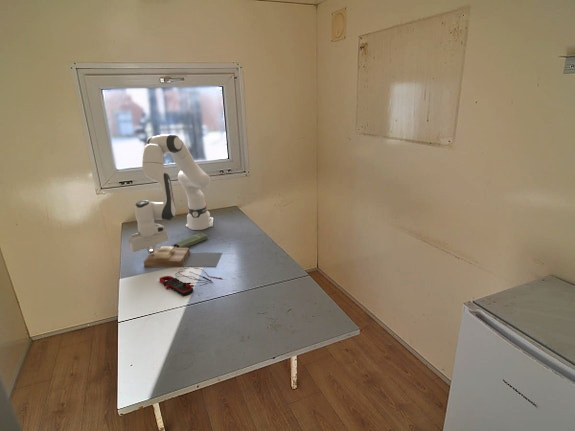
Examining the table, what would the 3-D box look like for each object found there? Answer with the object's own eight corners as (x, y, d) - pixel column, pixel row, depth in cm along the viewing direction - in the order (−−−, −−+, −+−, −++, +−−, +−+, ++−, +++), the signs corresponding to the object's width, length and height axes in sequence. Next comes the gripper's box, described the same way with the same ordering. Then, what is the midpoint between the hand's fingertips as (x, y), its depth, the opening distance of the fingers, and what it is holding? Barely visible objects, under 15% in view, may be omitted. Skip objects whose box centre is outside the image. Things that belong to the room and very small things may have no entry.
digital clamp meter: (184, 294, 153) (154, 275, 168) (185, 302, 155) (155, 283, 170) (224, 272, 170) (193, 257, 185) (225, 280, 172) (194, 265, 187)
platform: (155, 253, 199) (154, 247, 198) (189, 253, 199) (189, 247, 197) (144, 267, 184) (143, 261, 183) (181, 267, 184) (180, 261, 183)
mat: (190, 253, 199) (190, 252, 199) (221, 253, 198) (221, 252, 198) (182, 267, 184) (182, 266, 184) (215, 267, 183) (215, 266, 183)
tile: (162, 250, 195) (161, 246, 194) (174, 250, 195) (174, 246, 194) (155, 258, 186) (155, 254, 185) (168, 258, 185) (167, 254, 185)
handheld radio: (201, 236, 220) (167, 250, 202) (200, 231, 219) (166, 245, 201) (207, 239, 216) (173, 253, 198) (207, 234, 215) (173, 248, 197)
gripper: (130, 237, 176) (135, 261, 181) (167, 226, 190) (170, 248, 195) (125, 234, 180) (130, 257, 185) (162, 223, 194) (165, 245, 199)
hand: (151, 253), depth 190 cm, fingers closed
